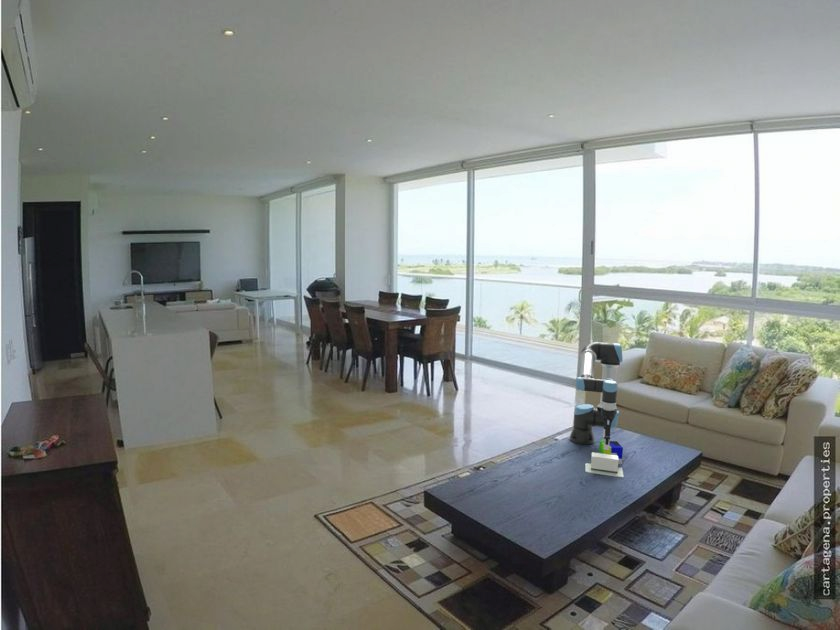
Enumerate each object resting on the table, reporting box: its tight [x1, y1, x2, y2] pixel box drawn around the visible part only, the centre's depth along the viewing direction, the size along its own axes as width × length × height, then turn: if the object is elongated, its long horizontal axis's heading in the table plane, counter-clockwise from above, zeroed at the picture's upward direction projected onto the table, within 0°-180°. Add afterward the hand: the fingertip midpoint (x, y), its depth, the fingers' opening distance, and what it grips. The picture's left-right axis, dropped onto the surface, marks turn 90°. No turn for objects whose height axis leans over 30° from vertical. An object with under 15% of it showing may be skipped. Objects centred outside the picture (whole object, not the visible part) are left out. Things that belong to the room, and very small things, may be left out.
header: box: [584, 462, 625, 479], centre depth 294 cm, size 12×20×7 cm, turn 73°
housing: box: [590, 451, 619, 472], centre depth 294 cm, size 14×6×7 cm, turn 73°
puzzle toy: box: [598, 440, 624, 465], centre depth 308 cm, size 10×10×10 cm
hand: (605, 444), depth 293 cm, fingers open, 13 cm apart
